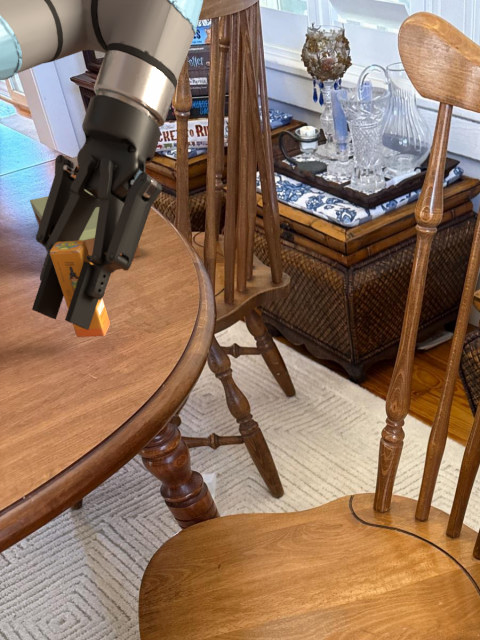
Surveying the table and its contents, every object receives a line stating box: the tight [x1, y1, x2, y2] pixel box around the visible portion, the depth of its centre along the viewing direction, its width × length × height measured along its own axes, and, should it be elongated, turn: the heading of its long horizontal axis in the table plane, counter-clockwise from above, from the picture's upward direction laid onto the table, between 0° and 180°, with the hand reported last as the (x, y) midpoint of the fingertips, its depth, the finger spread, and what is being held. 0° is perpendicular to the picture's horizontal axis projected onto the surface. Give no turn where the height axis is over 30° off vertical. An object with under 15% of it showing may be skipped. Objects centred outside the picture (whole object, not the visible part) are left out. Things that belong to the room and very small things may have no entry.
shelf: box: [29, 189, 142, 265], centre depth 110 cm, size 16×10×5 cm, turn 32°
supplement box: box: [50, 240, 111, 338], centre depth 86 cm, size 3×3×10 cm
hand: (60, 319), depth 85 cm, fingers closed on supplement box, 4 cm apart
